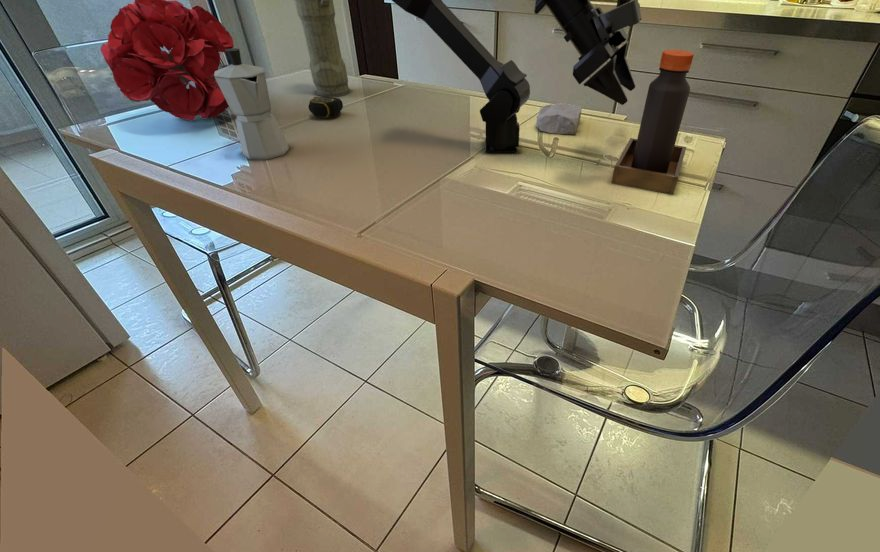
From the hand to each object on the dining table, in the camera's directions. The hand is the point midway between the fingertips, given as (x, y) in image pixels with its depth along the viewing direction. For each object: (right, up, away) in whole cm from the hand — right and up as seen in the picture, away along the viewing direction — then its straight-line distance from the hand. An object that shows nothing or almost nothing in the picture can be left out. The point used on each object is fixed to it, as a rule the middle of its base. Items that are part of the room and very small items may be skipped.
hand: (629, 95), depth 78 cm
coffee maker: (-71, -6, +11) cm, 72 cm away
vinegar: (+6, -11, +7) cm, 14 cm away
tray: (+6, -11, +7) cm, 14 cm away
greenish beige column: (-68, +22, +42) cm, 83 cm away
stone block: (-9, +6, +26) cm, 28 cm away
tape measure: (-64, +9, +28) cm, 71 cm away
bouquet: (-92, +9, +27) cm, 96 cm away
